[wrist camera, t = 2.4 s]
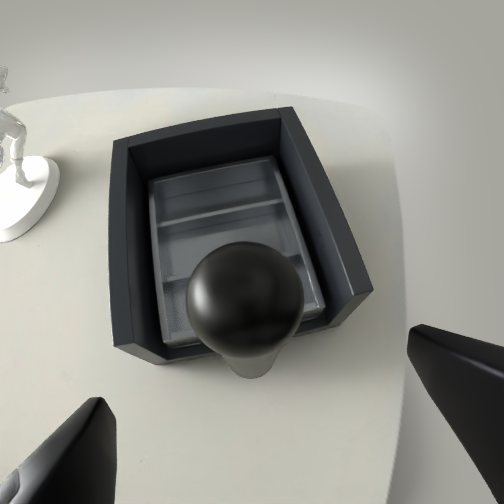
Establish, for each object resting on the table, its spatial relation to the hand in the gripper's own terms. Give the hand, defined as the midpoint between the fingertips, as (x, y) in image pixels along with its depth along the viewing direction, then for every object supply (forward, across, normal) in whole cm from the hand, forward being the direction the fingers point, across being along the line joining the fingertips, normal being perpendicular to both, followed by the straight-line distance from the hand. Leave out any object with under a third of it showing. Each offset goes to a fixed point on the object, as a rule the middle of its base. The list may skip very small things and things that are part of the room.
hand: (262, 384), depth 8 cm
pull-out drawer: (+11, 0, +1) cm, 11 cm away
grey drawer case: (+13, 0, +1) cm, 13 cm away
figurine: (+20, +18, -6) cm, 28 cm away
